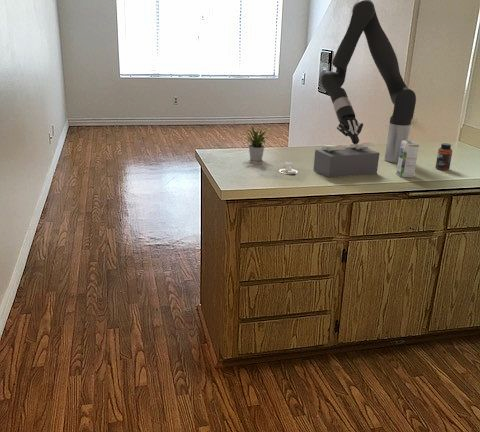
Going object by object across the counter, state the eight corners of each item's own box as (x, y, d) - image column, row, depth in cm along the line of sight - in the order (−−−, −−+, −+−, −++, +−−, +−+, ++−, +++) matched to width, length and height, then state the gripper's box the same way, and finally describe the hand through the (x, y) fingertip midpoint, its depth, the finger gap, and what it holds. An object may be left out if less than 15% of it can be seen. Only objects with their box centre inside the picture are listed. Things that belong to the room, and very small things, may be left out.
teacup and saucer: (296, 176, 216) (297, 166, 215) (277, 174, 218) (278, 165, 216) (298, 170, 224) (299, 161, 223) (280, 169, 226) (280, 159, 224)
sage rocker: (332, 150, 223) (332, 144, 223) (345, 151, 214) (345, 145, 214) (321, 151, 222) (321, 145, 221) (335, 151, 212) (335, 145, 212)
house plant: (232, 160, 234) (233, 124, 228) (243, 154, 246) (245, 119, 240) (262, 165, 229) (264, 127, 223) (272, 158, 241) (275, 122, 235)
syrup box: (395, 173, 225) (400, 140, 219) (409, 173, 225) (414, 140, 220) (400, 177, 219) (405, 143, 214) (414, 177, 220) (419, 143, 215)
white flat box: (359, 149, 229) (359, 143, 228) (373, 148, 219) (373, 142, 219) (349, 149, 227) (349, 144, 227) (363, 148, 218) (363, 143, 217)
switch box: (360, 166, 234) (362, 146, 231) (376, 173, 224) (379, 152, 220) (313, 170, 225) (315, 149, 222) (328, 177, 214) (330, 156, 211)
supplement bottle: (449, 168, 236) (453, 143, 232) (449, 171, 231) (454, 146, 227) (435, 166, 238) (439, 141, 234) (435, 169, 233) (439, 144, 229)
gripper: (335, 105, 226) (347, 139, 220) (360, 104, 231) (373, 137, 225) (327, 115, 233) (339, 148, 227) (352, 114, 238) (364, 147, 232)
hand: (356, 143), depth 226 cm, fingers closed
